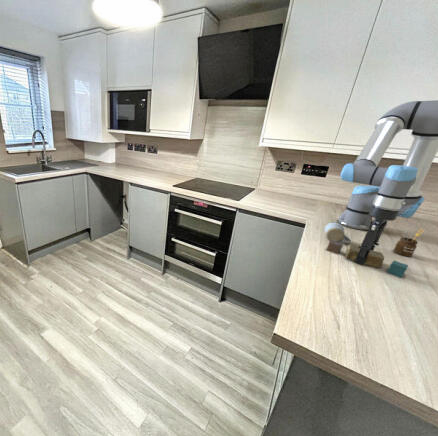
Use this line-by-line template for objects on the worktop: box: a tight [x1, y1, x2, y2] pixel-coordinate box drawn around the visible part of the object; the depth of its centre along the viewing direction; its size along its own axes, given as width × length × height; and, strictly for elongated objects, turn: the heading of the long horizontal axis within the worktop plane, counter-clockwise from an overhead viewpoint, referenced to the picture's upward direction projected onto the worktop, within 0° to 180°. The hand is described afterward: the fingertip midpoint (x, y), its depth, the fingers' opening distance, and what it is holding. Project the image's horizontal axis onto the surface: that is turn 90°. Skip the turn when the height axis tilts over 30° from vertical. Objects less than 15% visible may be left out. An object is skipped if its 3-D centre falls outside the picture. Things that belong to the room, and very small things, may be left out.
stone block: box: [345, 244, 385, 269], centre depth 95 cm, size 6×12×5 cm, turn 53°
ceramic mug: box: [324, 221, 352, 244], centre depth 113 cm, size 11×8×8 cm
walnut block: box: [326, 240, 344, 254], centre depth 103 cm, size 4×4×4 cm
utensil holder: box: [393, 228, 425, 257], centre depth 102 cm, size 6×6×12 cm
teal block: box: [386, 260, 410, 278], centre depth 88 cm, size 4×4×4 cm
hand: (362, 260), depth 96 cm, fingers open, 7 cm apart
